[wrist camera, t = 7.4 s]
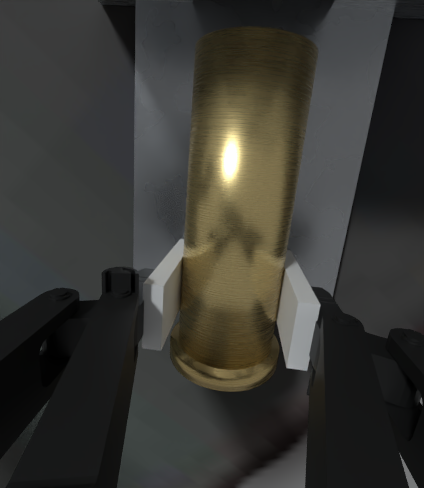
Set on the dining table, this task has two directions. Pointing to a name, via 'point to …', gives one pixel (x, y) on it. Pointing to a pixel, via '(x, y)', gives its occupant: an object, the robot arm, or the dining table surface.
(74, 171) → the dining table surface
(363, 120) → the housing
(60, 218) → the dining table surface
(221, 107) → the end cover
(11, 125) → the dining table surface
